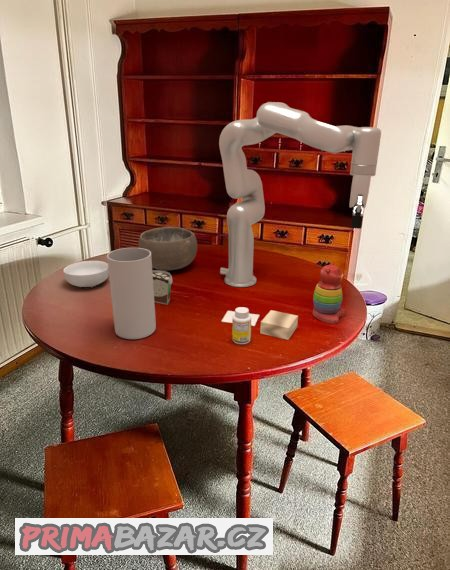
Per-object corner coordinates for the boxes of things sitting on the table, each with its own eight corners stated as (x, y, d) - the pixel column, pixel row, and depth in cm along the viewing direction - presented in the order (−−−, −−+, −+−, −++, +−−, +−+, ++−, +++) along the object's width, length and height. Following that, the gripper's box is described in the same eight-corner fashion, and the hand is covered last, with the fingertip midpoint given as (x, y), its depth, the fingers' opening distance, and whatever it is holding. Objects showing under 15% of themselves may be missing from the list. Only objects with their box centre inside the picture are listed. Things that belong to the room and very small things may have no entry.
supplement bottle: (239, 333, 132) (240, 303, 128) (254, 339, 129) (255, 309, 125) (228, 341, 129) (228, 310, 125) (242, 347, 125) (243, 316, 121)
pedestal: (260, 333, 133) (260, 321, 131) (270, 321, 140) (271, 310, 139) (288, 339, 129) (289, 328, 128) (297, 327, 137) (298, 315, 135)
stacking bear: (336, 325, 138) (342, 273, 131) (306, 317, 143) (311, 267, 136) (346, 312, 146) (353, 263, 139) (318, 305, 151) (323, 257, 144)
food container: (180, 298, 156) (179, 273, 152) (171, 305, 151) (169, 279, 147) (151, 292, 161) (149, 267, 157) (141, 299, 155) (139, 273, 152)
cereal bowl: (116, 277, 175) (115, 260, 172) (101, 293, 160) (99, 276, 157) (76, 275, 176) (74, 259, 174) (58, 291, 161) (55, 274, 158)
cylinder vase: (134, 317, 142) (127, 245, 132) (164, 327, 136) (159, 252, 127) (106, 333, 132) (97, 256, 122) (137, 344, 126) (131, 264, 117)
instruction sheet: (221, 321, 140) (221, 321, 140) (227, 311, 147) (227, 310, 147) (254, 326, 137) (254, 325, 137) (259, 315, 144) (259, 314, 144)
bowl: (156, 255, 200) (154, 224, 194) (205, 261, 193) (205, 228, 187) (130, 273, 179) (127, 238, 173) (184, 280, 172) (183, 244, 166)
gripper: (351, 165, 141) (345, 217, 148) (349, 173, 126) (343, 230, 132) (375, 166, 139) (368, 218, 146) (376, 174, 124) (368, 232, 130)
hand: (356, 224), depth 139 cm, fingers open, 9 cm apart
